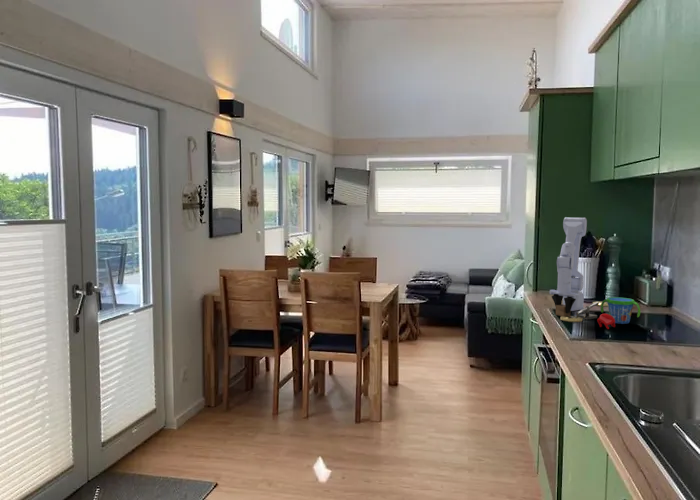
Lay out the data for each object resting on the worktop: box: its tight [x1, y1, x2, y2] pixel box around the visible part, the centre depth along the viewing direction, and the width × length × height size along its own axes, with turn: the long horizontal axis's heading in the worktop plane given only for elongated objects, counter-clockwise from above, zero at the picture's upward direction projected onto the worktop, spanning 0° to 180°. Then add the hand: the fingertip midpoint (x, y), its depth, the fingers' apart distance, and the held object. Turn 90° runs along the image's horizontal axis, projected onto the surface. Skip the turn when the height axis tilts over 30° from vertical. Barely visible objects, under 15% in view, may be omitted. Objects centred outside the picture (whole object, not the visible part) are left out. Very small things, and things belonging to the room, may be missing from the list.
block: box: [555, 303, 572, 317], centre depth 254 cm, size 4×4×4 cm
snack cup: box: [600, 296, 641, 325], centre depth 239 cm, size 16×10×10 cm
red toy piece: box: [596, 312, 616, 330], centre depth 229 cm, size 8×6×6 cm
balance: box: [559, 301, 608, 323], centre depth 248 cm, size 30×9×7 cm, turn 120°
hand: (563, 312), depth 254 cm, fingers closed on block, 4 cm apart
